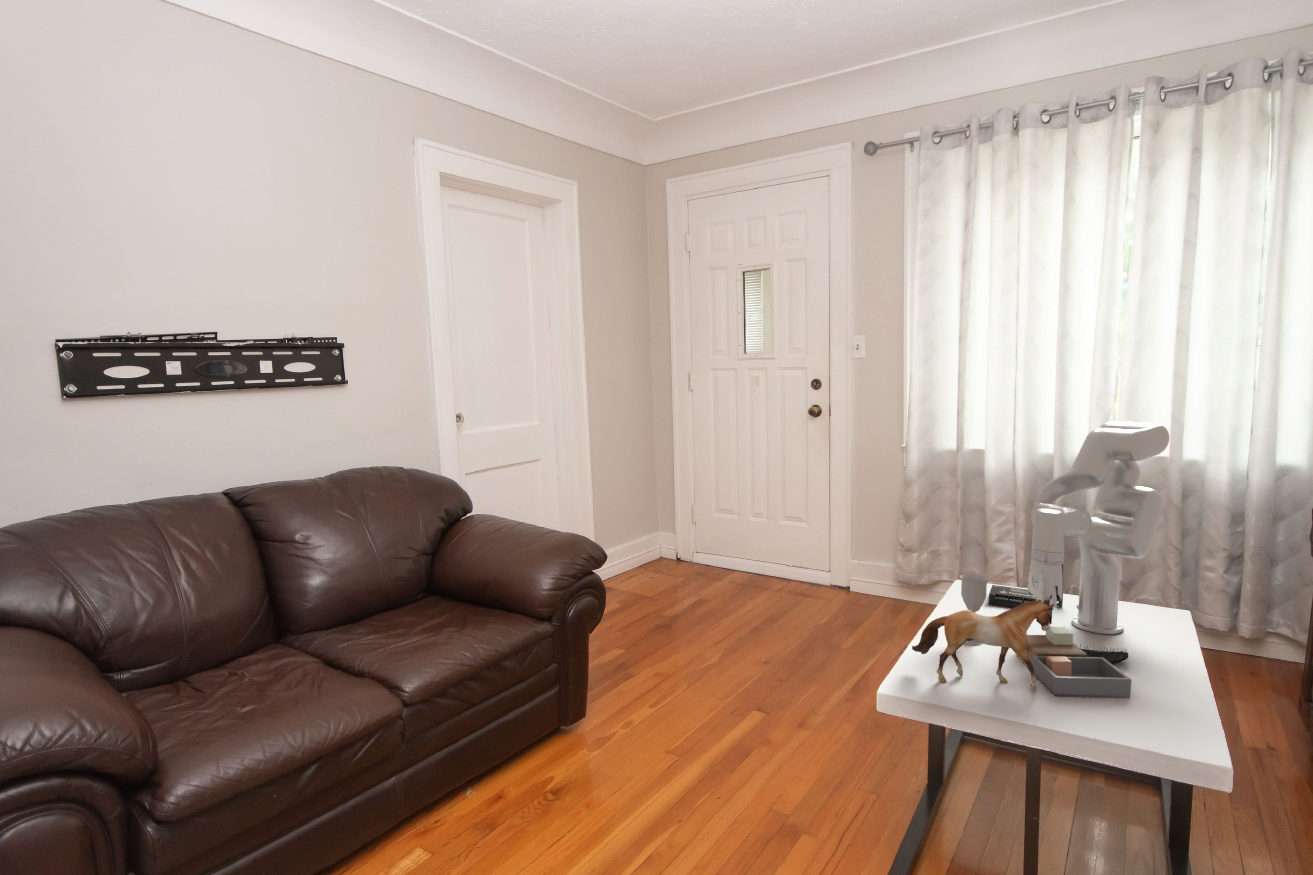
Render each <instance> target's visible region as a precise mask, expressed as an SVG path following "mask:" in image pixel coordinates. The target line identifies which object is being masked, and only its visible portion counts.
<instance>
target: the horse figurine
mask: <svg viewBox="0 0 1313 875" xmlns="http://www.w3.org/2000/svg"><path fill="white" fill-rule="evenodd" d="M1050 602H1051V601H1047V602H1044V603H1043V602H1041V601H1037V600H1035V601H1031V602H1026V603H1023V604H1021V605H1019V606H1017V607H1015V608H1009V610H1006V611H1003V612H1001V613H1000V614H997V615H993V616H988V615H983V614H979V613H976V612H975V613H974V612H971V611H970V610H968V609H963V610H960V611H955V612H954V613H951V614H949V615H947V616H946V615H945V616H941V617H938V618H936V619H933V620H932V621H930V622H929V623H927V625H926V626H925V627H924V629H923V631H921V632H922V633H921V635H920V640H919V642H918V644H917V645H912V646H911V649H912V650H913V651H914V652H915V653H917V652H918V653H920V654H921V655H926V654H927V653H928V652H929V651H930V649H931V648H932V647H933V646H934V645H935V644H936V642H937V641H938V639H939V629H940V628H941V627H943V626H944V627H943V629H944V630H943V631H944V636H945V641H946V643H947V646H946V647H945V649H944V651H943V652H941V653H940V654H939V662H938V663H939V664H938V667H937V669H936V674H938V676H937V679H938V681H939V682H941V683H947V679H946V676H945V675H944V672H943V670H944V669H943V668H944V664H945V662H946V661H947V659H948V658H949V657H950V656H951V657H952V659H953V661H954V663H955V666H956V667H957V669H956V673H957V675H958V676H960V678H962V677H963V676H964V670H963V666H962V662H960V659H959V658H958V656H957V652H958V650H959V649H960V648H961V647H962V646H963V645H965V644H966V643H965V642H966V641H972V640H974V641H977V642H979V643H982V644H981V645H987V646H993V647H1000V653H999V655H998V656H999V657H998V666H997V670H996V671H995V672H996V676H998V679H999V682H1000V683H1001V684H1008V680H1007V679H1006V678H1007V677H1005V676H1004V675H1003V674H1002V668H1003V665H1004V663H1005V661H1006V655H1007V653H1008V651H1009V649H1011V651H1013V653H1015V654H1016V656H1017V657H1018V658H1019V659H1020V660H1021V661H1022V663H1024V665H1025V666H1026V667H1027V669H1028V671H1029V673H1030V680H1031V682H1029V685H1028V686H1029V688H1030V689H1031V690H1032V691H1033V692H1036V690H1037V684H1036V682H1037V679H1036V677H1035V673H1034V668H1033V665H1032V663H1031V662H1030V659H1029V657H1028V654H1027V652H1026V650H1025V648H1026V646H1027V644H1028V638H1027V635H1028V633H1027V632H1028V629H1029V628H1030V627H1031V625H1032V623H1033V622H1034V620H1035V619H1037V621H1038V622H1039V623H1040V624H1039V623H1038V622H1037V621H1036V622H1037V623H1038V624H1039V625H1040V628H1041V630H1042V631H1043V632H1046V631H1047V630H1048V629H1049V628H1050V627H1051V624H1050V623H1049V619H1050V617H1051V616H1052V617H1053V612H1052V613H1051V607H1053V606H1054V604H1052V605H1048V604H1049V603H1050ZM1053 608H1054V607H1053Z"/></svg>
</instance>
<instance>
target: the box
mask: <svg viewBox="0 0 1313 875" xmlns="http://www.w3.org/2000/svg"><path fill="white" fill-rule="evenodd" d="M1067 658H1068V659H1069V660H1070V661H1072V669H1071V677H1069V676H1056V675H1055V674H1054V673H1053V672H1052V671H1051V670H1050V669H1049V668H1048V667H1047V666H1046V656H1032V665H1033V668H1034V673H1035V677H1036V681H1038V682H1039V683H1040V684H1041V685H1042V686H1043V687H1044V688H1045V689H1046V690H1047V691H1048V692H1049V693H1050V694H1051V695H1052V696H1053V697H1057V698H1058V697H1062V698H1065V697H1067V698H1094V699H1095V698H1097V699H1098V698H1103V699H1131V695H1132V693H1131V692H1132V679H1131V677H1129V676H1128V675H1126V674H1125V673H1124V672H1123V671H1121V670H1120V669H1119V668H1117V667H1116V666H1115V664H1111V663H1110V662H1108V661H1107V660H1106V659H1105V658H1103V657H1067Z"/></svg>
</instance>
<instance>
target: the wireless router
mask: <svg viewBox="0 0 1313 875" xmlns="http://www.w3.org/2000/svg"><path fill="white" fill-rule="evenodd" d="M1061 565H1062V579H1063V584H1064V582H1065V581H1064V579H1065V578H1064V563H1063V564H1061ZM1063 598H1064V585H1063V586H1062V598H1061V601H1059V602H1057V607H1058V608H1061V609H1062V608H1063V602H1064V601H1063V600H1064V599H1063ZM1035 600H1036V597H1035V596H1034V595H1033V594H1031V593H1030V592H1029V591H1028V588H1027V589H1026V588H1018V587H1012V586H1011V587H1010V586H1005V585H996V584H992V586H991V587H990V591H989V593H988V605H989V606H994V607H995V606H996V607H1000V608H1001V607H1003V608H1009V609H1013V608H1015V607H1017V606H1019V605H1021V604H1023V603H1026V602H1031V601H1035Z"/></svg>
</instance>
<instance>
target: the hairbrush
mask: <svg viewBox="0 0 1313 875" xmlns="http://www.w3.org/2000/svg"><path fill="white" fill-rule="evenodd" d="M1076 646H1078V643H1076ZM1091 647H1092V649H1091ZM1079 648H1080V649H1081V650H1082V651H1084V652H1085V653H1086V654H1087V657H1103V658H1105V659H1106V660H1107V661H1108V662H1110V663H1111V664H1112V665H1116V664H1119V663H1120V664H1121V663H1122V662H1125V661H1126V660H1128V658H1129V656H1130V655H1129V652H1127V650H1128V649H1125V651H1124V648H1122V647H1121V648H1120V649H1119V648H1118V651H1115V648H1114V649H1112V647H1110V650H1111V651H1109V649H1108V648H1106V647H1104V648H1103V650H1102V647H1099V646H1097V648H1095V647H1094V646H1092V645H1090V646H1089V648H1088V646H1086V648H1085V647H1082V644H1079Z"/></svg>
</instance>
